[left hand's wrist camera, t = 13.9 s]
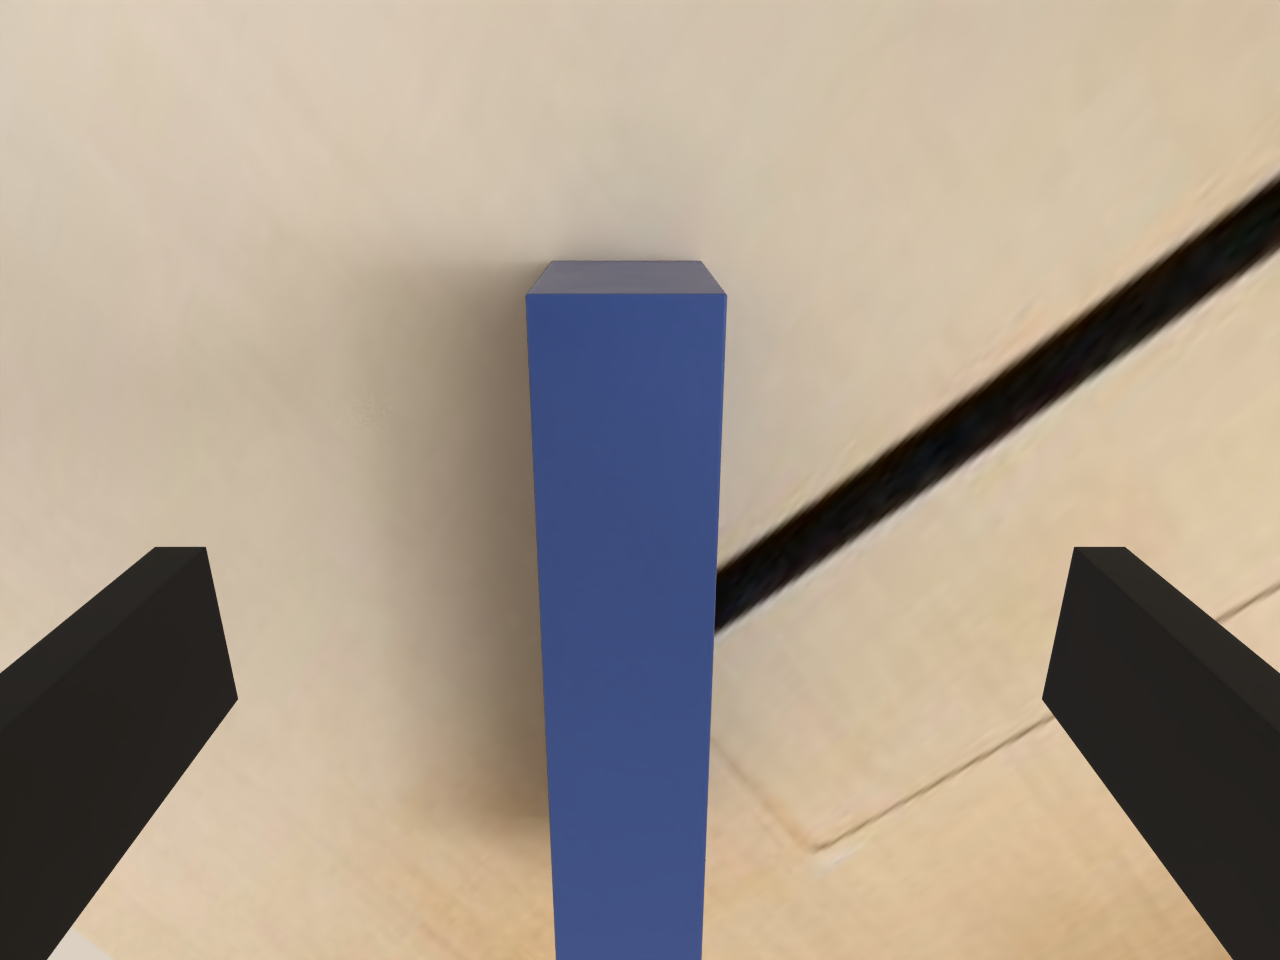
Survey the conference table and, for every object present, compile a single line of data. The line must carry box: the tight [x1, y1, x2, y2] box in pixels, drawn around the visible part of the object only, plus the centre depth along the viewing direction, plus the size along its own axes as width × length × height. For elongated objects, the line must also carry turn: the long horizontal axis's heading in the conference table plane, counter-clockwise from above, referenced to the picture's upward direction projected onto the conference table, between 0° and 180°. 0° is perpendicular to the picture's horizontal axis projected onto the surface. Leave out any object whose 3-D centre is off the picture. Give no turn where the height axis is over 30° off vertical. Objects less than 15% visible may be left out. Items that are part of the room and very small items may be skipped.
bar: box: [525, 261, 727, 960], centre depth 31 cm, size 26×6×8 cm, turn 0°
